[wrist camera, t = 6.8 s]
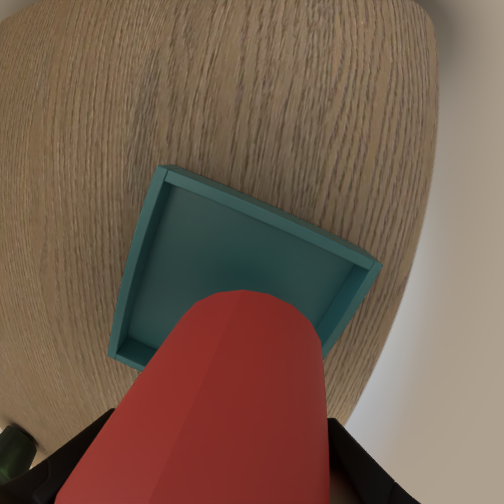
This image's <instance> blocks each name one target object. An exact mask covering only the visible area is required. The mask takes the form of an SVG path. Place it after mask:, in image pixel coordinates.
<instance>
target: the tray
mask: <svg viewBox="0 0 504 504" xmlns="http://www.w3.org/2000/svg"><path fill="white" fill-rule="evenodd" d="M382 266H383V265H382V264H381V263H380V262H379V261H378V260H377V259H375V258H374V257H373V256H372V255H371V254H370V253H368V252H367V251H366V250H364V249H362V248H360V247H358V246H356V245H354V244H352V243H350V242H348V241H346V240H344V239H342V238H340V237H338V236H336V235H334V234H332V233H330V232H327V231H325V230H323V229H321V228H319V227H317V226H315V225H313V224H311V223H308V222H306V221H304V220H302V219H300V218H298V217H296V216H293V215H291V214H289V213H287V212H285V211H282V210H280V209H278V208H276V207H273V206H271V205H269V204H267V203H264V202H262V201H260V200H258V199H255V198H253V197H251V196H248V195H246V194H244V193H241V192H239V191H237V190H234V189H232V188H230V187H227V186H225V185H222V184H220V183H218V182H215V181H213V180H210V179H208V178H205V177H203V176H200V175H198V174H195V173H193V172H190V171H188V170H185V169H183V168H180V167H178V166H175V165H172V164H170V165H158V166H157V167H156V170H155V173H154V175H153V178H152V181H151V184H150V187H149V189H148V192H147V195H146V198H145V201H144V204H143V207H142V210H141V213H140V217H139V220H138V223H137V226H136V230H135V233H134V237H133V240H132V244H131V247H130V251H129V254H128V258H127V262H126V266H125V270H124V274H123V278H122V282H121V287H120V291H119V295H118V300H117V305H116V310H115V315H114V320H113V325H112V331H111V336H110V342H109V349H108V356H109V357H111V358H113V359H116V360H117V361H119V362H121V363H123V364H126V365H128V366H130V367H132V368H134V369H137V370H139V371H141V372H142V371H143V370H144V368H145V367H146V366H147V364H148V363H149V361H150V360H151V359H152V357H153V356H154V355H155V353H156V352H157V350H158V349H159V348H160V346H161V345H162V344H163V342H164V341H165V339H166V338H167V337H168V335H169V334H170V333H171V331H172V330H173V328H174V327H175V326H176V324H177V323H178V322H179V320H180V319H181V318H182V316H183V315H184V314H185V313H186V312H187V311H188V310H189V309H190V308H191V307H192V306H193V305H194V304H195V303H196V302H198V301H200V300H202V299H204V298H206V297H209V296H211V295H213V294H215V293H218V292H227V291H236V290H248V291H254V292H260V293H266V294H270V295H272V296H274V297H276V298H278V299H280V300H282V301H285V302H287V303H289V304H291V305H293V306H294V307H295V308H296V309H297V310H298V311H299V312H300V313H301V314H303V315H304V316H305V317H306V318H307V319H308V320H309V321H310V322H311V323H312V325H313V327H314V329H315V331H316V333H317V335H318V337H319V339H320V341H321V349H322V359H323V360H324V358H325V357H326V355H327V354H328V353H329V351H330V350H331V348H332V347H333V345H334V344H335V343H336V341H337V340H338V338H339V337H340V335H341V334H342V332H343V331H344V329H345V328H346V326H347V325H348V323H349V321H350V320H351V318H352V317H353V315H354V314H355V312H356V310H357V309H358V307H359V306H360V304H361V302H362V301H363V299H364V297H365V296H366V294H367V292H368V291H369V289H370V287H371V286H372V284H373V282H374V281H375V279H376V277H377V275H378V274H379V272H380V270H381V268H382Z"/></svg>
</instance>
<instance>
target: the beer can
mask: <svg viewBox="0 0 504 504" xmlns="http://www.w3.org/2000/svg"><path fill="white" fill-rule="evenodd" d="M54 504H330V476H329V444H328V423H327V407H326V393H325V381H324V369H323V359H322V349H321V341H320V339H319V337H318V335H317V333H316V331H315V329H314V327H313V325H312V323H311V322H310V321H309V320H308V319H307V318H306V317H305V316H304V315H303V314H301V313H300V312H299V311H298V310H297V309H296V308H295V307H294V306H293V305H291V304H289V303H287V302H285V301H282V300H280V299H278V298H276V297H274V296H272V295H270V294H266V293H260V292H254V291H248V290H236V291H227V292H218V293H215V294H213V295H211V296H209V297H206V298H204V299H202V300H200V301H198V302H196V303H195V304H194V305H193V306H192V307H191V308H190V309H189V310H188V311H187V312H186V313H185V314H184V315H183V316H182V318H181V319H180V320H179V322H178V323H177V324H176V326H175V327H174V328H173V330H172V331H171V333H170V334H169V335H168V337H167V338H166V339H165V341H164V342H163V344H162V345H161V346H160V348H159V349H158V350H157V352H156V353H155V355H154V356H153V357H152V359H151V360H150V361H149V363H148V364H147V366H146V367H145V368H144V370H143V371H142V373H141V374H140V375H139V377H138V378H137V380H136V381H135V382H134V384H133V385H132V387H131V388H130V389H129V391H128V392H127V394H126V395H125V396H124V398H123V399H122V401H121V402H120V403H119V405H118V406H117V408H116V409H115V411H114V412H113V413H112V415H111V416H110V418H109V419H108V420H107V422H106V423H105V425H104V426H103V428H102V429H101V431H100V432H99V433H98V435H97V436H96V438H95V439H94V441H93V442H92V444H91V445H90V446H89V448H88V449H87V451H86V452H85V454H84V455H83V457H82V458H81V460H80V461H79V463H78V464H77V465H76V467H75V468H74V470H73V471H72V473H71V474H70V476H69V477H68V479H67V480H66V482H65V483H64V485H63V486H62V488H61V489H60V491H59V492H58V494H57V496H56V500H55V503H54Z"/></svg>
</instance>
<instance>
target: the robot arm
mask: <svg viewBox="0 0 504 504" xmlns="http://www.w3.org/2000/svg"><path fill="white" fill-rule="evenodd" d="M114 411H115V408H111V409H110V410H108V411H107V412H106V413H104V414H103V415H102V416H101V417H99V418H98V419H97V420H96V421H94V422H93V423H92V424H91V425H89V426H88V427H87V428H85V429H84V430H83V431H82V432H80V433H79V434H78V435H76V436H75V437H74V438H73V439H71V440H70V441H69V442H67V443H66V444H65V445H63V446H62V447H61V448H59V449H58V450H57V451H55V452H54V453H53V454H52V455H50V456H49V457H48V459H47V458H46V459H45V460H43V461H42V462H41V463H39V464H38V465H36V466H35V467H33V468H32V469H30V470H29V471H27V472H25V473H23V474H22V475H20V476H18V477H16V478H14V479H12V480H10V481H8V482H6V483H4V484H2V485H0V504H54V503H55V500H56V496H57V494H58V492H59V491H60V489H61V488H62V486H63V485H64V483H65V482H66V480H67V479H68V477H69V476H70V474H71V473H72V471H73V470H74V468H75V467H76V465H77V464H78V463H79V461H80V460H81V458H82V457H83V455H84V454H85V452H86V451H87V449H88V448H89V446H90V445H91V444H92V442H93V441H94V439H95V438H96V436H97V435H98V433H99V432H100V431H101V429H102V428H103V426H104V425H105V423H106V422H107V420H108V419H109V418H110V416H111V415H112V413H113V412H114ZM327 423H328V444H329V476H330V504H421V503H419V502H418V501H417V500H415V499H414V498H413V497H412V496H410V495H409V494H408V493H407V492H406V491H405V490H404V489H403V488H402V487H401V486H400V485H399V484H398V483H397V482H395V481H394V479H393V478H392V477H390V475H388V474H387V472H386V471H385V470H384V469H383V468H382V467H381V466H380V465H379V464H378V463H377V462H376V461H375V460H374V459H373V458H372V457H371V456H370V455H369V454H368V453H367V452H366V451H365V450H364V449H363V448H362V447H361V445H360V444H359V443H358V442H357V441H356V440H355V439H354V438H353V437H352V436H351V435H350V434H349V433H348V432H347V430H346V429H345V428H344V427H343V426H342V425H341V424H340V423H339V422H338V421H337V419H335V418H327Z"/></svg>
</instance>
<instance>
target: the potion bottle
mask: <svg viewBox="0 0 504 504" xmlns="http://www.w3.org/2000/svg"><path fill="white" fill-rule="evenodd" d="M36 452H37V450H36V447H35V445H34V444H33V443H32V442H31V441H30V439H28V438H27V437H26V436H25V435H24V434H23V433H22V432H20V431H19V430H18V429H16V428H15V427H13V426H7V427H6V428H5V429H4V431H3V432H2V433H1V434H0V485H2V484H4V483H6V482H8V481H10V480H12V479H14V478H16V477H18V476H20V475H22V474H23V473H25V472H27V471H29V468H30V466H31V464H32V461H33V459H34V457H35V454H36Z"/></svg>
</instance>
